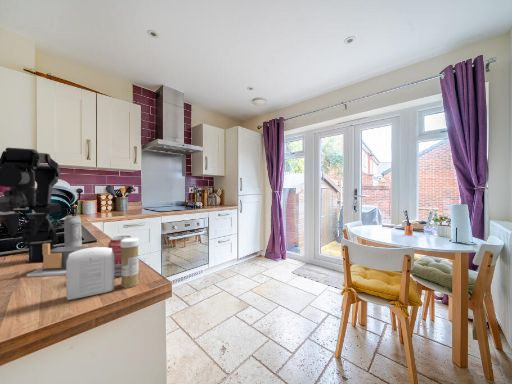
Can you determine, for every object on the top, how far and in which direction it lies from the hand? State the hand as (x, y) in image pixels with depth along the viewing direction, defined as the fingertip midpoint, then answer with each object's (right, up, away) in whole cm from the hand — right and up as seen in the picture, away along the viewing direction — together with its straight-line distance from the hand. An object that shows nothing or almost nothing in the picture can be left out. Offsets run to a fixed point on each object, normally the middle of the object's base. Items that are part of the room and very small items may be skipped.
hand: (23, 235), depth 70 cm
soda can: (+31, -13, +1) cm, 34 cm away
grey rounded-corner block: (+32, -14, -12) cm, 36 cm away
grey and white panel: (+11, -13, +6) cm, 18 cm away
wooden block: (+8, -11, +2) cm, 14 cm away
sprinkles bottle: (+39, -13, -7) cm, 42 cm away
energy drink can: (-9, -13, +29) cm, 33 cm away
